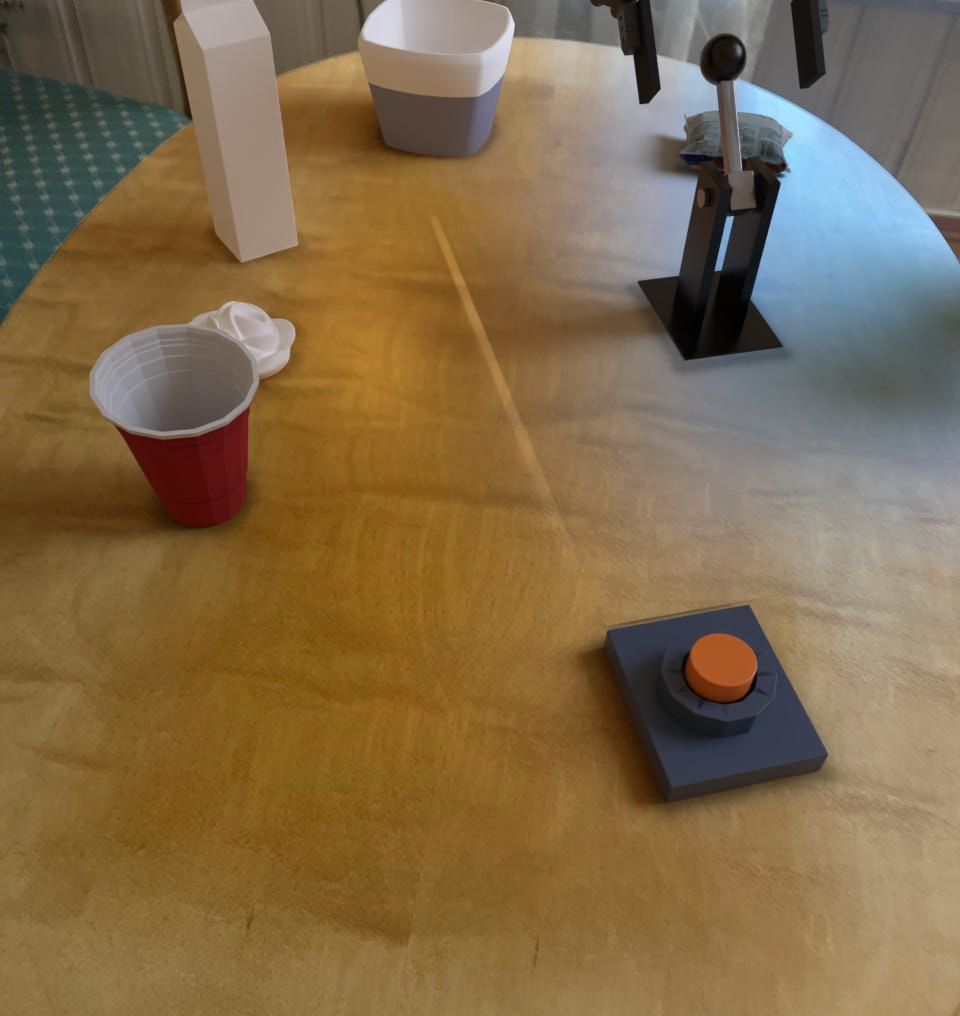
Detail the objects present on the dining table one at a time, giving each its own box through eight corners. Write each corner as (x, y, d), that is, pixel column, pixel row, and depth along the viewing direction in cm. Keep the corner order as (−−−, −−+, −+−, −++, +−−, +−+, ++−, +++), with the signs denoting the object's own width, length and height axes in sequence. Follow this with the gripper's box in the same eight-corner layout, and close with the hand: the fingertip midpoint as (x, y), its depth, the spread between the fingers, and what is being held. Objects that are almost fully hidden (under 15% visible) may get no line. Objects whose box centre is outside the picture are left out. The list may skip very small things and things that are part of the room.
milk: (299, 249, 96) (266, -10, 79) (240, 267, 94) (194, 5, 77) (271, 219, 99) (234, -36, 82) (214, 236, 97) (163, -22, 80)
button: (675, 656, 62) (680, 639, 61) (735, 645, 63) (741, 627, 62) (699, 708, 60) (704, 692, 58) (761, 696, 60) (768, 679, 59)
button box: (602, 650, 67) (609, 612, 64) (742, 624, 69) (755, 585, 65) (664, 806, 60) (676, 772, 57) (818, 773, 61) (838, 738, 58)
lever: (689, 46, 80) (708, 26, 76) (732, 42, 80) (752, 23, 77) (707, 220, 82) (725, 209, 79) (748, 216, 83) (768, 204, 79)
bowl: (350, 157, 107) (340, 44, 98) (392, 94, 116) (386, -14, 108) (490, 177, 105) (493, 63, 96) (521, 111, 114) (527, 2, 106)
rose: (147, 311, 82) (237, 261, 87) (160, 357, 85) (245, 306, 90) (231, 361, 78) (319, 306, 83) (240, 406, 82) (325, 351, 86)
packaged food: (680, 138, 111) (688, 91, 107) (788, 151, 110) (801, 104, 106) (673, 177, 106) (681, 130, 102) (787, 191, 105) (799, 144, 101)
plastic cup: (192, 582, 70) (151, 451, 60) (104, 504, 74) (53, 371, 65) (312, 504, 75) (292, 372, 65) (223, 436, 79) (192, 302, 70)
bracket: (636, 291, 93) (660, 141, 82) (727, 280, 94) (762, 131, 83) (682, 371, 86) (716, 218, 75) (780, 357, 87) (826, 205, 76)
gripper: (824, -183, 81) (852, 94, 84) (525, -169, 77) (566, 123, 80) (877, -254, 74) (905, 53, 76) (550, -242, 69) (594, 82, 72)
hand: (732, 89), depth 78 cm, fingers open, 13 cm apart
